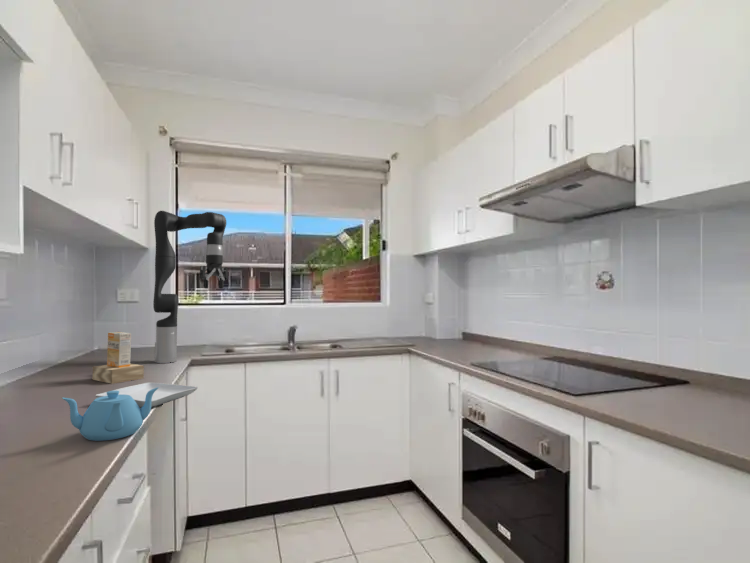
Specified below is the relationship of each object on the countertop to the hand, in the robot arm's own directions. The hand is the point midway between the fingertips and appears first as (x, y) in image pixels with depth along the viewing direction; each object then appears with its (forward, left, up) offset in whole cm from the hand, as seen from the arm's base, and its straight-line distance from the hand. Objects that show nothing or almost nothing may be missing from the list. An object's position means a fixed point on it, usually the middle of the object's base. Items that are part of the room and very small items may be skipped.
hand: (213, 288), depth 205 cm
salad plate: (+40, -55, -37) cm, 77 cm away
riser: (-1, -43, -36) cm, 56 cm away
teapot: (+65, -80, -36) cm, 109 cm away
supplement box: (-1, -43, -31) cm, 53 cm away
